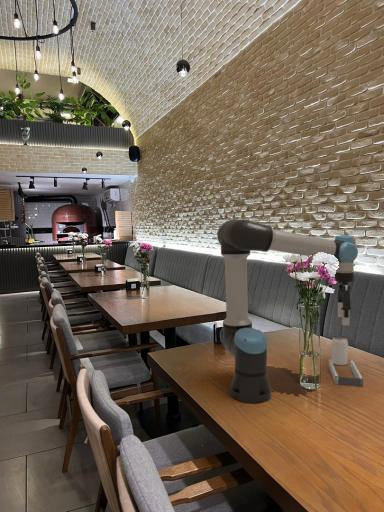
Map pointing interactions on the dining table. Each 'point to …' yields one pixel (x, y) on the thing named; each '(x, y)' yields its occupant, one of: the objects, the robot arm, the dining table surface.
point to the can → (339, 350)
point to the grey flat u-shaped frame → (347, 380)
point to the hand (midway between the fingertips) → (343, 320)
